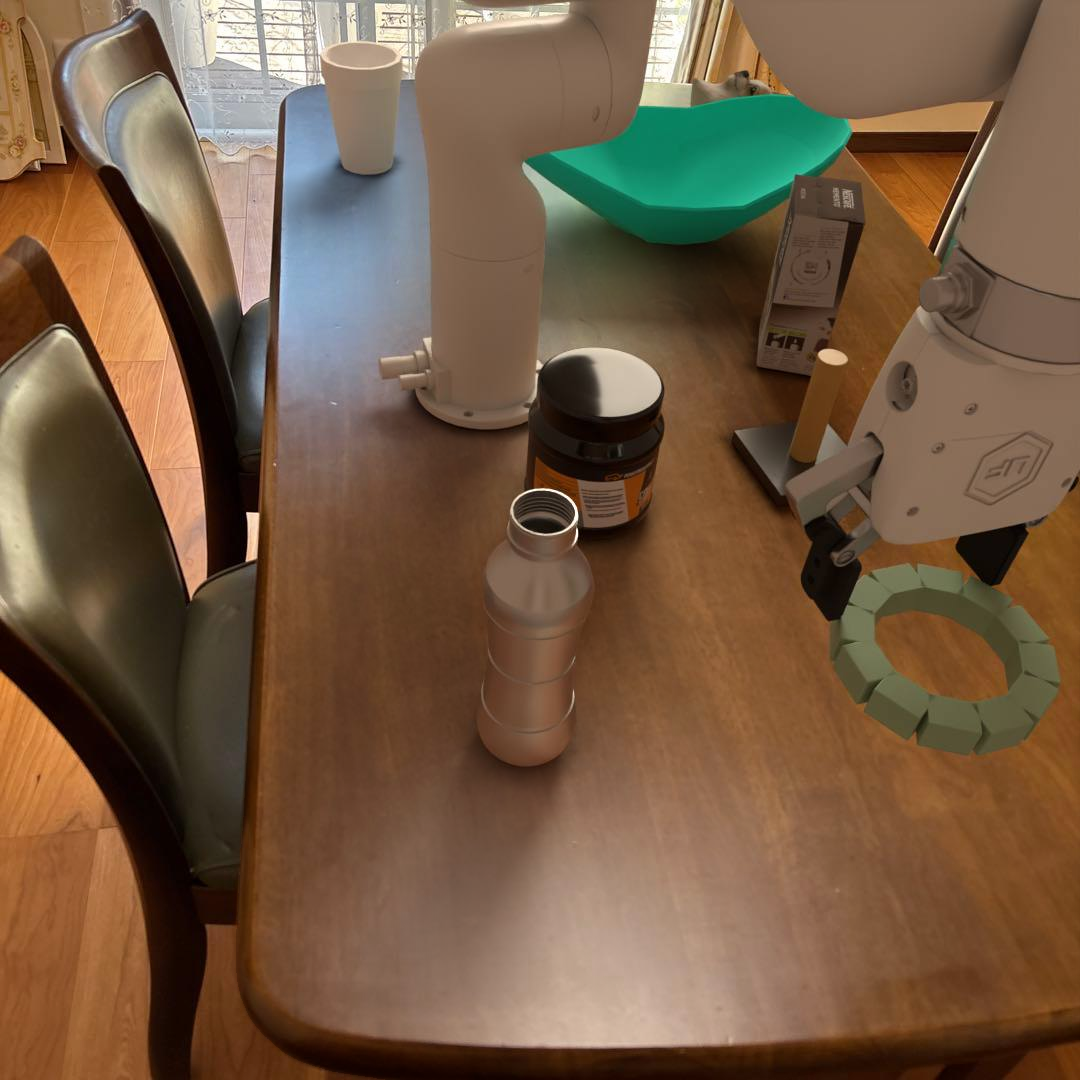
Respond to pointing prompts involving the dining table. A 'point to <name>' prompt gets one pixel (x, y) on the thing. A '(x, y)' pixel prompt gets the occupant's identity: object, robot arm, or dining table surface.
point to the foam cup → (363, 102)
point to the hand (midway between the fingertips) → (899, 583)
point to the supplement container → (597, 436)
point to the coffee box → (810, 272)
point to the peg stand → (797, 432)
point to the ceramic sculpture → (727, 88)
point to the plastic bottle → (533, 630)
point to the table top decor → (698, 166)
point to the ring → (917, 708)
